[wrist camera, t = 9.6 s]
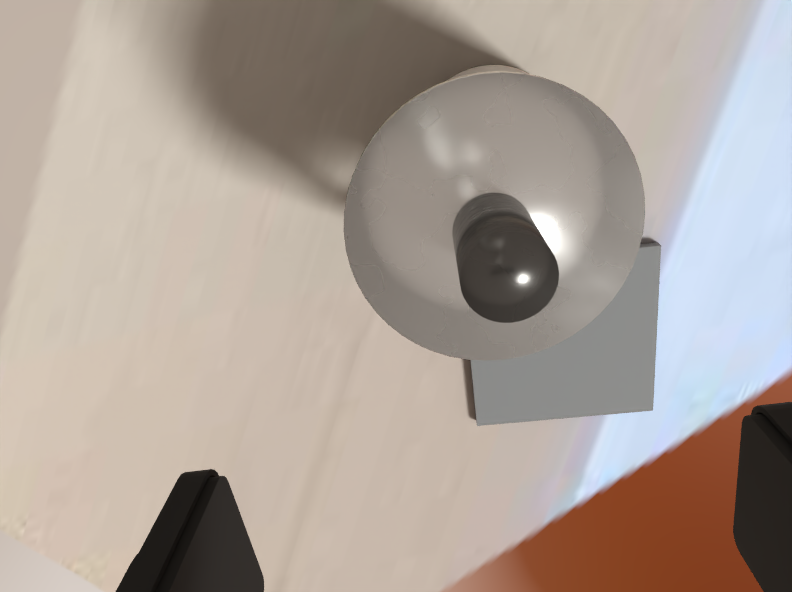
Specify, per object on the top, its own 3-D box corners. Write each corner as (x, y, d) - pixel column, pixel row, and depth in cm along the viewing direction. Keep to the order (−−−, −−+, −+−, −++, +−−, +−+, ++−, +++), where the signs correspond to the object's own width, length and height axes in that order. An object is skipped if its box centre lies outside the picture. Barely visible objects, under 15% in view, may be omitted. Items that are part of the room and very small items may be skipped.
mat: (461, 264, 37) (461, 267, 37) (657, 242, 36) (660, 245, 35) (476, 420, 42) (477, 425, 41) (649, 405, 41) (652, 410, 40)
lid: (321, 95, 23) (290, 115, 17) (640, 48, 22) (714, 53, 16) (370, 362, 28) (358, 443, 22) (633, 334, 26) (689, 413, 21)
